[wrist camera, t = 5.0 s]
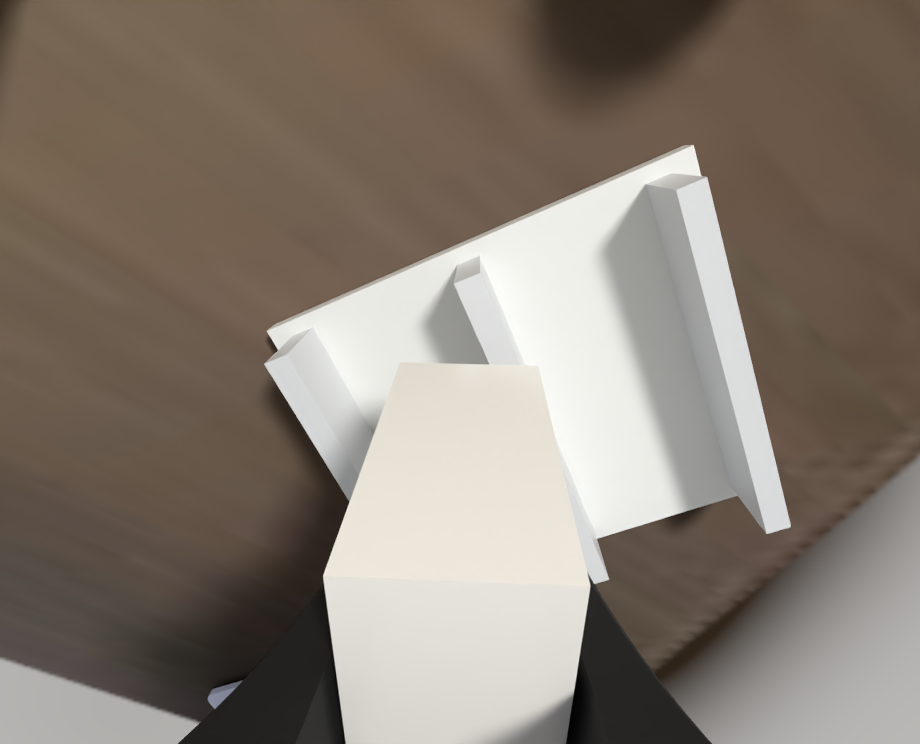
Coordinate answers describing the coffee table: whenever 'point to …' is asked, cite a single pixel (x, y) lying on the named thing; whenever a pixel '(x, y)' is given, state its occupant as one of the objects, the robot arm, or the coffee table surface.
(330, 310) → the dish rack
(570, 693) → the cream rectangular prism
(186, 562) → the coffee table surface
